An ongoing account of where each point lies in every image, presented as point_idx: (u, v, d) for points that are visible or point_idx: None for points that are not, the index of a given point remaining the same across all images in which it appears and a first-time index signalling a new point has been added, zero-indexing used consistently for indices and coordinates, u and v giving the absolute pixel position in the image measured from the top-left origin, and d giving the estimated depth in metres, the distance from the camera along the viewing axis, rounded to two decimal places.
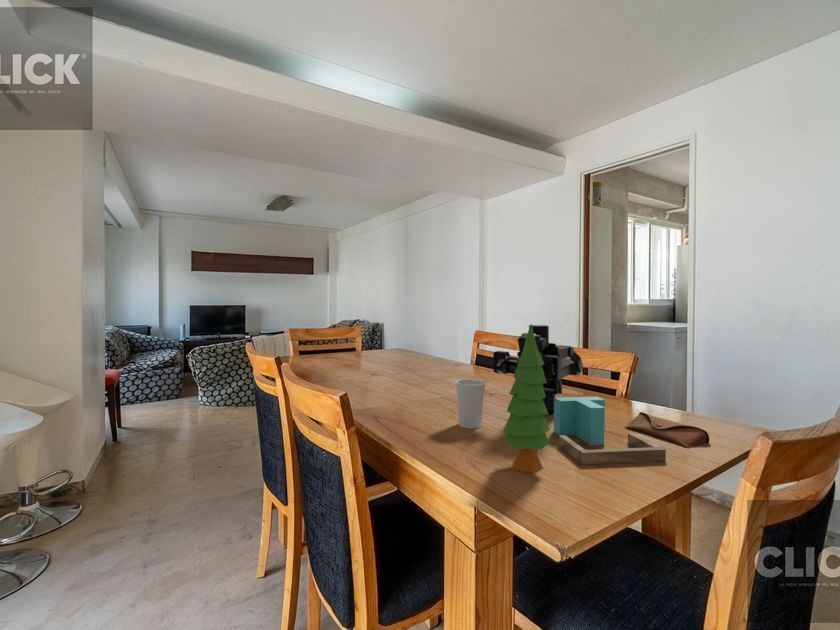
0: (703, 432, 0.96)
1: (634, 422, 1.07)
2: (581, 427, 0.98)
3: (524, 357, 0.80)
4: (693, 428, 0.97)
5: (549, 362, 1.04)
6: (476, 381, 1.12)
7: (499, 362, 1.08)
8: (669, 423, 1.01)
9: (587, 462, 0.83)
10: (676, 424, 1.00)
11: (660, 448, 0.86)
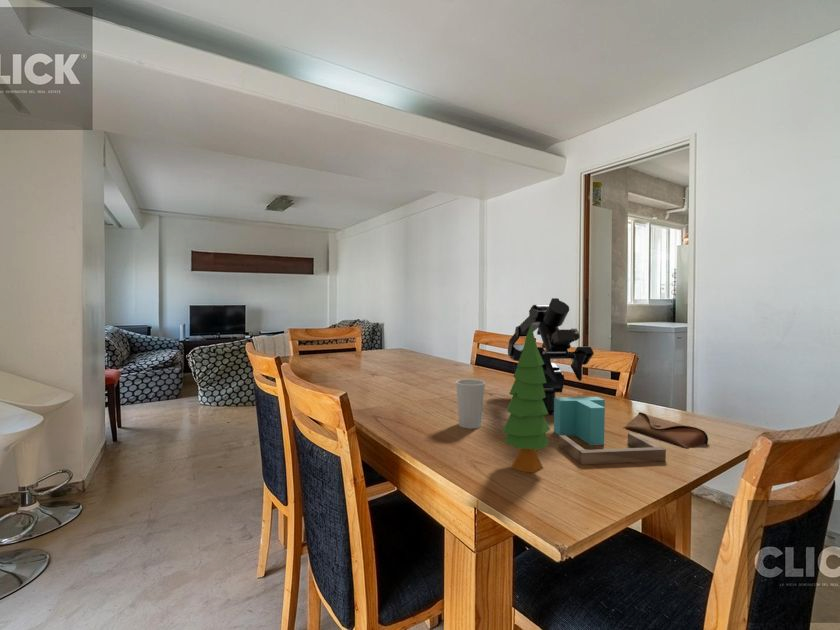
0: (702, 432, 0.96)
1: (633, 422, 1.07)
2: (581, 427, 0.98)
3: (524, 357, 0.80)
4: (692, 428, 0.97)
5: (584, 357, 1.13)
6: (476, 381, 1.12)
7: (552, 370, 1.10)
8: (668, 423, 1.01)
9: (587, 462, 0.83)
10: (675, 424, 0.99)
11: (660, 448, 0.86)
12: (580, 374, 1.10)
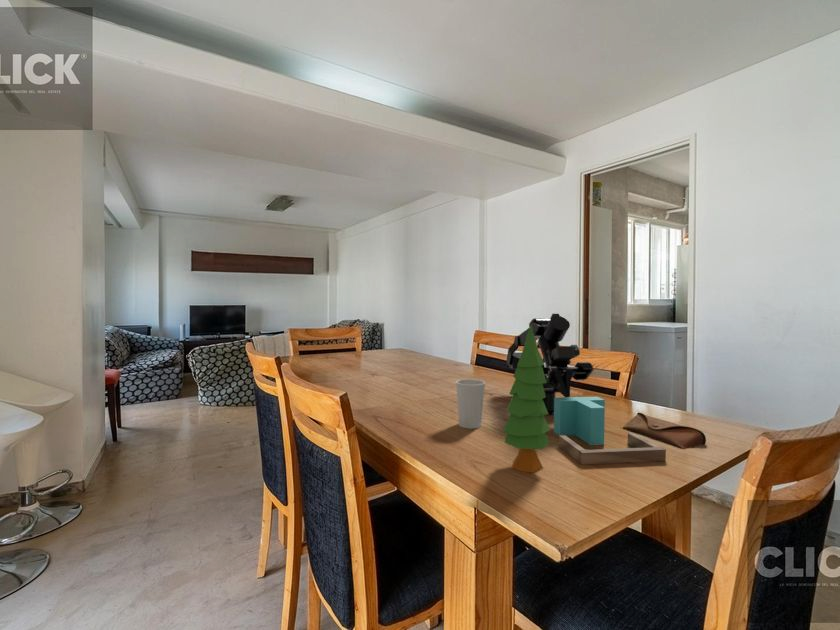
0: (699, 433, 0.95)
1: (631, 422, 1.07)
2: (581, 427, 0.98)
3: (524, 357, 0.80)
4: (689, 429, 0.97)
5: (572, 373, 1.13)
6: (476, 381, 1.12)
7: (563, 386, 1.10)
8: (666, 424, 1.00)
9: (587, 462, 0.83)
10: (672, 424, 0.99)
11: (660, 448, 0.86)
12: (568, 391, 1.10)
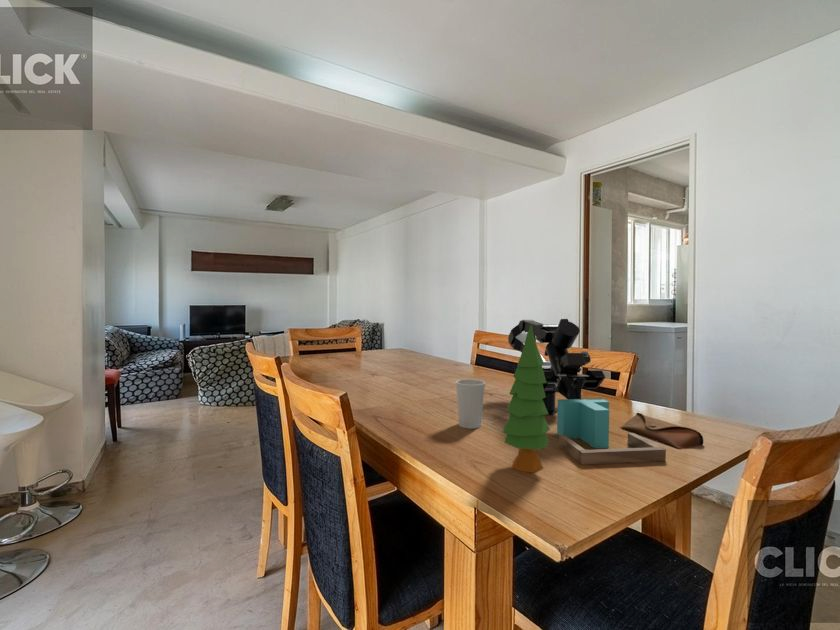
0: (697, 433, 0.95)
1: (629, 422, 1.07)
2: (585, 429, 0.96)
3: (524, 357, 0.80)
4: (687, 429, 0.96)
5: (583, 382, 1.07)
6: (476, 381, 1.12)
7: (574, 395, 1.04)
8: (663, 424, 1.00)
9: (587, 462, 0.83)
10: (670, 425, 0.99)
11: (660, 448, 0.86)
12: None
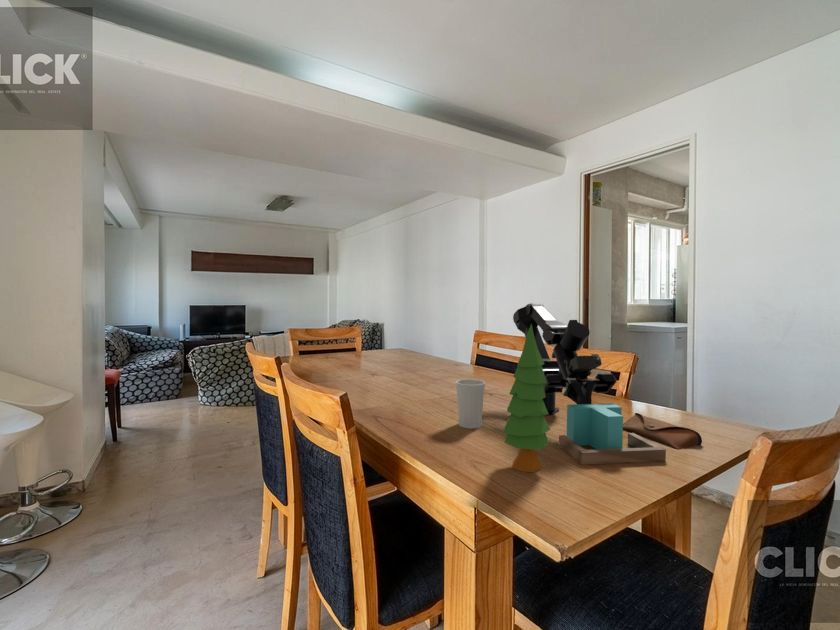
0: (695, 433, 0.95)
1: (627, 422, 1.07)
2: (597, 436, 0.91)
3: (524, 357, 0.80)
4: (685, 429, 0.96)
5: (593, 386, 1.02)
6: (476, 381, 1.12)
7: (584, 400, 0.99)
8: (662, 424, 1.00)
9: (587, 462, 0.83)
10: (668, 425, 0.99)
11: (660, 448, 0.86)
12: None
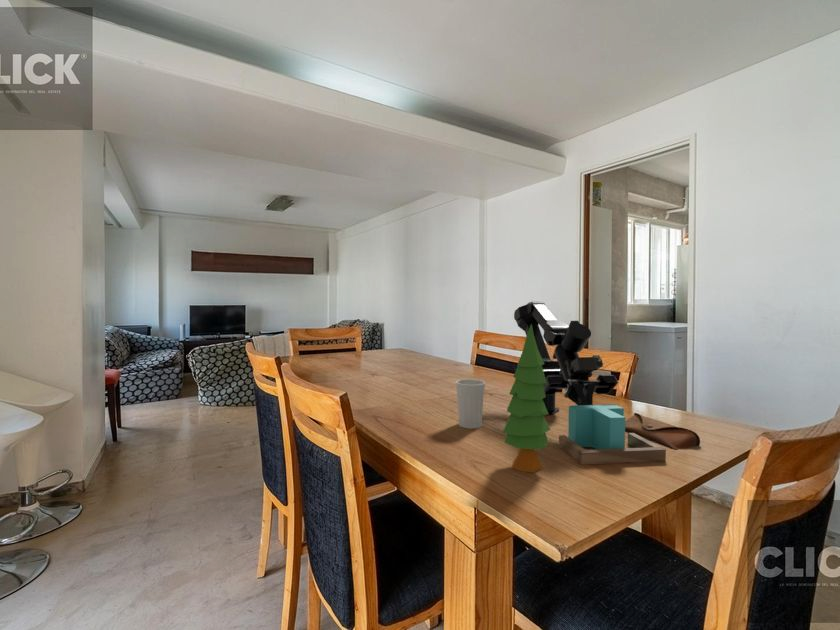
0: (693, 434, 0.94)
1: (626, 422, 1.07)
2: (599, 437, 0.90)
3: (524, 357, 0.80)
4: (683, 430, 0.96)
5: (594, 387, 1.01)
6: (476, 381, 1.12)
7: (585, 402, 0.99)
8: (660, 424, 1.00)
9: (587, 462, 0.83)
10: (667, 425, 0.99)
11: (660, 448, 0.86)
12: None
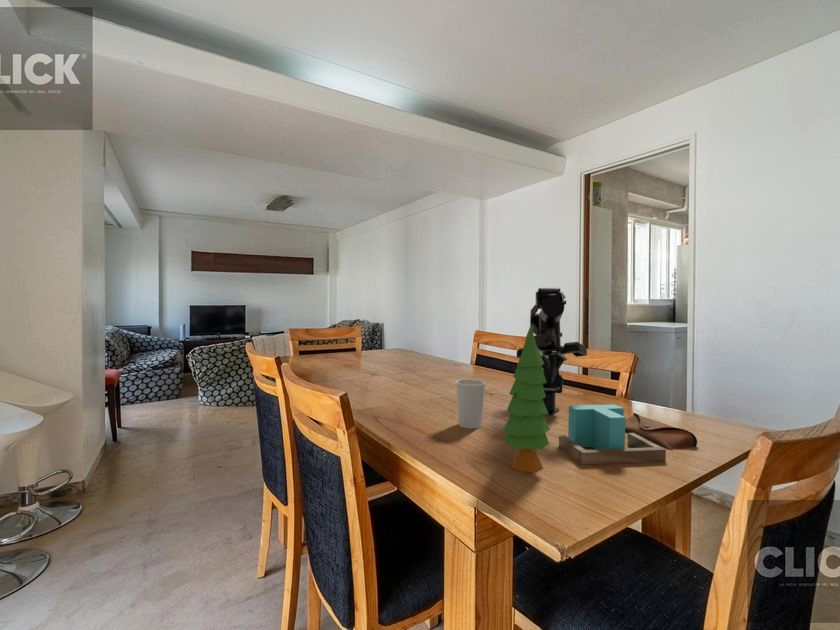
0: (690, 434, 0.94)
1: None
2: (599, 437, 0.90)
3: (524, 357, 0.80)
4: (680, 430, 0.96)
5: (557, 357, 1.08)
6: (476, 381, 1.12)
7: (546, 372, 1.10)
8: (657, 424, 1.00)
9: (587, 462, 0.83)
10: (664, 426, 0.98)
11: (660, 448, 0.86)
12: (550, 376, 1.09)
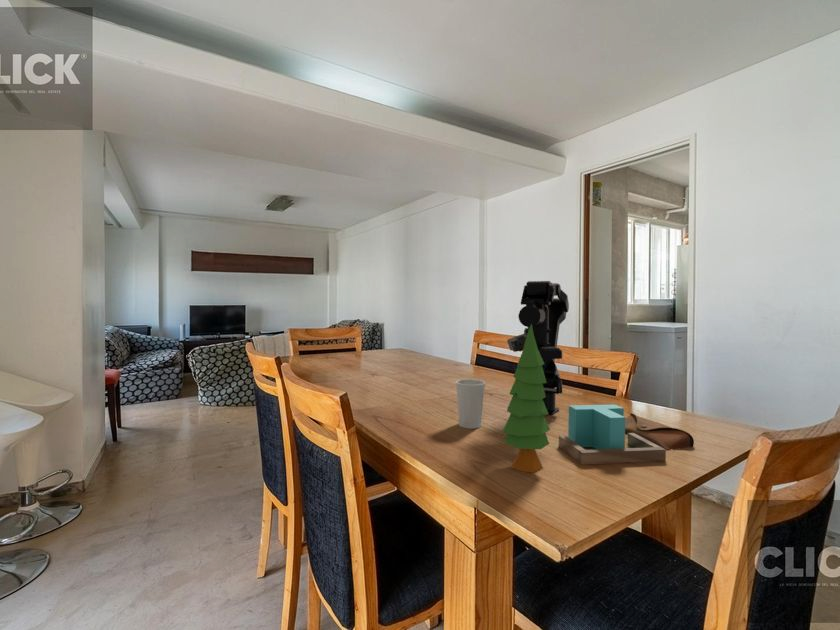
0: (687, 435, 0.94)
1: None
2: (599, 437, 0.90)
3: (524, 357, 0.80)
4: (677, 430, 0.95)
5: None
6: (476, 381, 1.12)
7: None
8: (654, 425, 0.99)
9: (587, 462, 0.83)
10: (661, 426, 0.98)
11: (660, 448, 0.86)
12: None
